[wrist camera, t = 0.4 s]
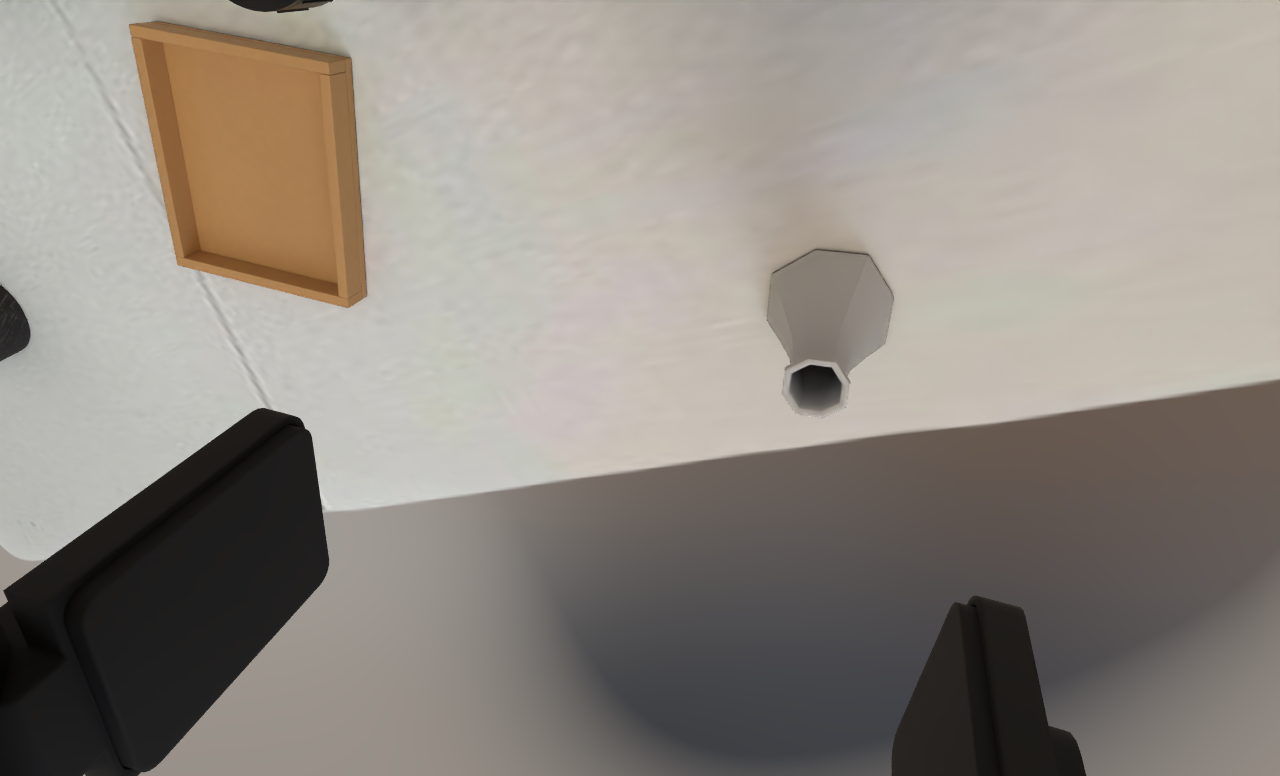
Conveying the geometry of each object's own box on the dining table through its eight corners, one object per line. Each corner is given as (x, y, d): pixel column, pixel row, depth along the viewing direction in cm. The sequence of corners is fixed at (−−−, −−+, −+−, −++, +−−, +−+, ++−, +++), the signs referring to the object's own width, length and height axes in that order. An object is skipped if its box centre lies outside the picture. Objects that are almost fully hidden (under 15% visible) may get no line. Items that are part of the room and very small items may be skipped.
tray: (157, 21, 47) (128, 23, 46) (351, 57, 45) (328, 62, 43) (200, 254, 55) (177, 265, 54) (367, 296, 53) (348, 308, 51)
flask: (781, 371, 47) (758, 461, 39) (753, 261, 44) (721, 333, 36) (904, 352, 45) (908, 445, 36) (882, 234, 42) (881, 305, 33)
